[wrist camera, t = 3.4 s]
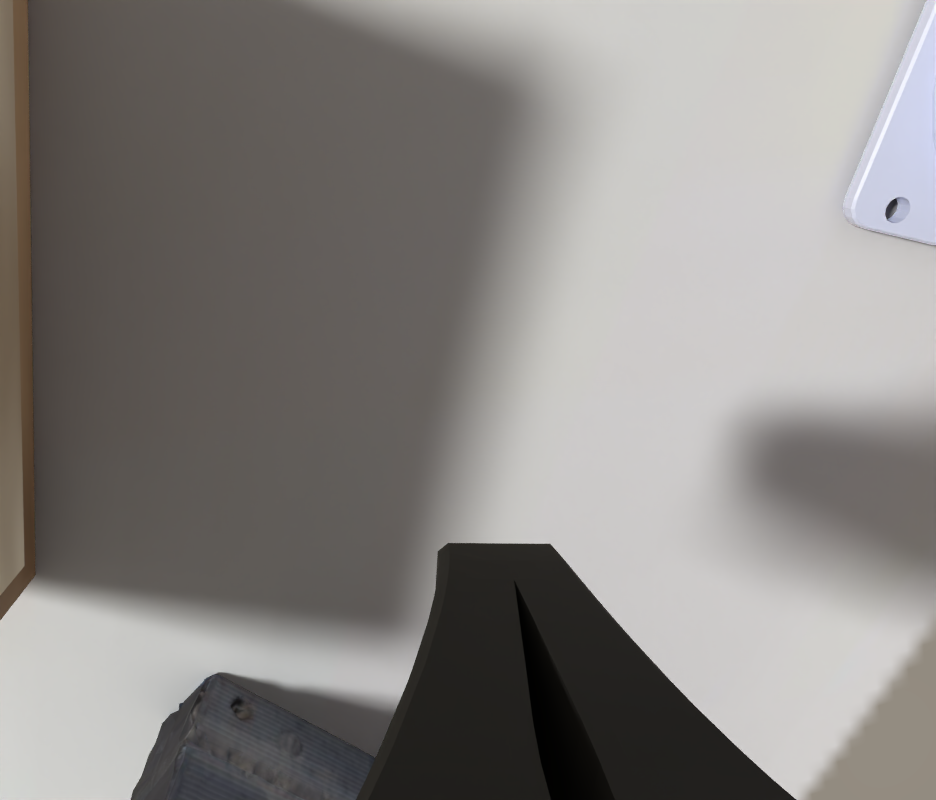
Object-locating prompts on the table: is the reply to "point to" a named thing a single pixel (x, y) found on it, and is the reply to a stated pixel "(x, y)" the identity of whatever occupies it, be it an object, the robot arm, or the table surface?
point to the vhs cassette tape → (247, 752)
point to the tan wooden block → (15, 311)
